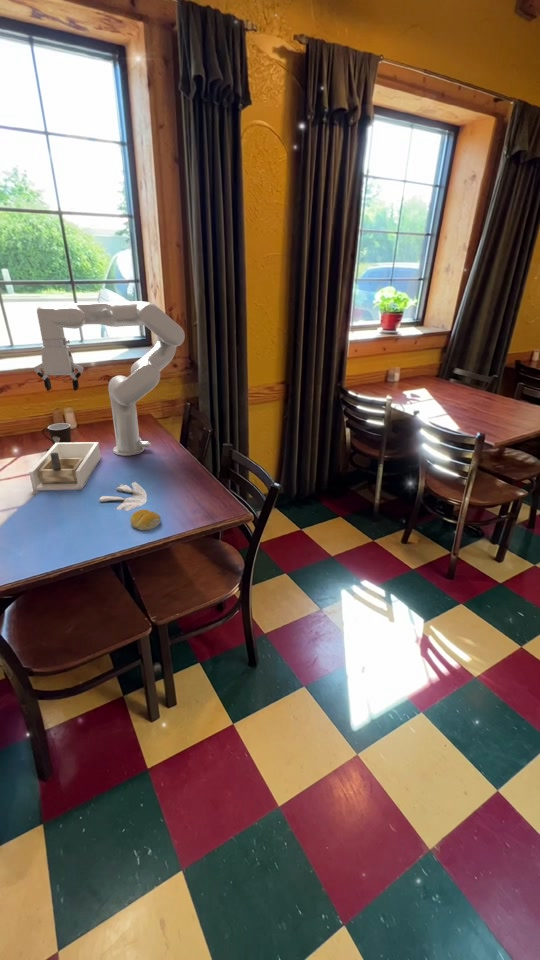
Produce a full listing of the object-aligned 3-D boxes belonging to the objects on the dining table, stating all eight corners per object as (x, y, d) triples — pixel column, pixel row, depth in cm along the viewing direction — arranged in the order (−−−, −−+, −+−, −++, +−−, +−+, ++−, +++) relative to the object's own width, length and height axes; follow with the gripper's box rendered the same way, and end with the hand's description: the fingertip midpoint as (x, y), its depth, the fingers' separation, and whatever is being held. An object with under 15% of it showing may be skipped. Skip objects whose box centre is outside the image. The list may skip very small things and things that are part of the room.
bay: (100, 458, 180) (98, 442, 177) (82, 489, 155) (79, 471, 152) (59, 458, 178) (55, 442, 175) (33, 490, 153) (29, 472, 150)
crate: (85, 469, 166) (80, 442, 162) (76, 483, 156) (71, 454, 151) (52, 470, 165) (46, 443, 160) (40, 484, 155) (34, 455, 150)
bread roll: (144, 514, 142) (143, 503, 140) (165, 522, 138) (164, 511, 136) (124, 525, 135) (123, 513, 134) (145, 534, 131) (143, 522, 129)
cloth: (131, 517, 141) (130, 510, 140) (76, 503, 147) (75, 497, 146) (166, 490, 158) (166, 484, 157) (116, 479, 165) (115, 473, 164)
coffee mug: (78, 448, 189) (74, 425, 185) (60, 454, 183) (56, 431, 179) (61, 442, 195) (57, 420, 191) (43, 448, 188) (38, 425, 184)
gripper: (82, 341, 164) (89, 387, 171) (32, 341, 162) (42, 387, 169) (76, 345, 157) (83, 392, 164) (25, 344, 155) (35, 392, 163)
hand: (62, 389), depth 167 cm, fingers open, 9 cm apart
